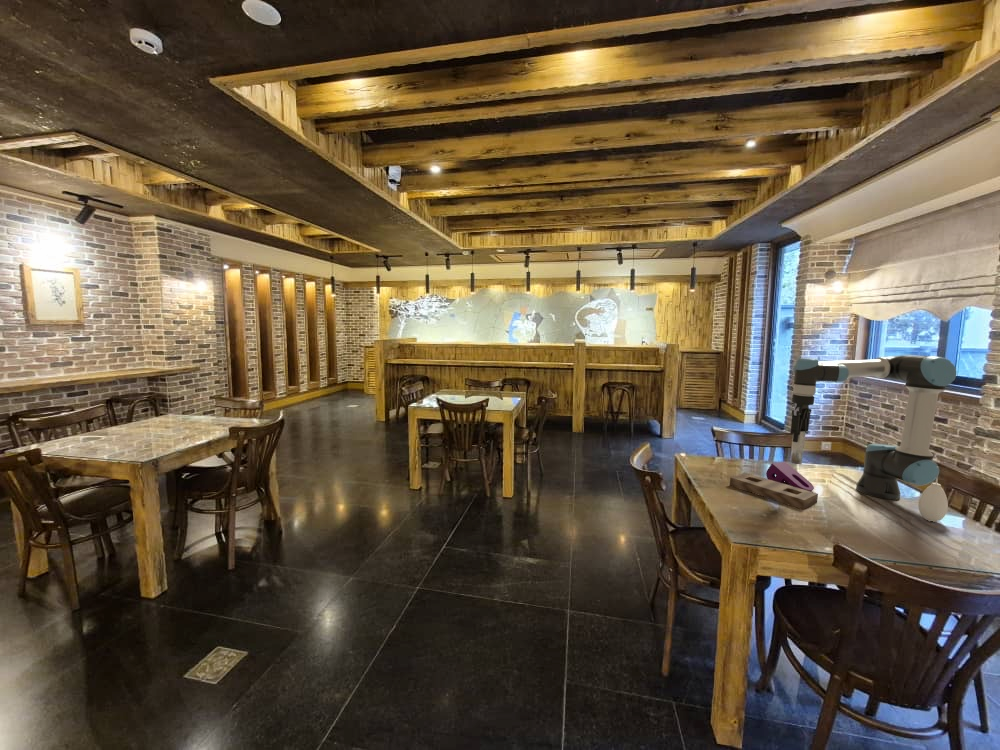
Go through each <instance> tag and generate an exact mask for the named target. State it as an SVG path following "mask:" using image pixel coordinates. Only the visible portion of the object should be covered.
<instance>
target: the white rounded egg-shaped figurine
mask: <svg viewBox="0 0 1000 750" xmlns="http://www.w3.org/2000/svg"><path fill="white" fill-rule="evenodd" d="M938 480H939V479H938V477H937V478H936V479H935V481H934V482H931V483H930V484H929V486H927V487H926V488H925V489H924V490H923V491H922V493H921V495H920V497H919V499H918V511H919V513H920V515H921V517H923V519H925V520H926V521H927V520H928V522H930V521H933V522H932V523H934V522H935V523H937V522H938V521H939V522H940V521H942V520H943V519H944V518H945V517H946V515H947V513H948V508H949V507H948V506H949V502H948V498H947V495H946V494H947V493H946V492H945V490H944V489H943V487H942V485H941V484H940V483H938Z"/></svg>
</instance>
